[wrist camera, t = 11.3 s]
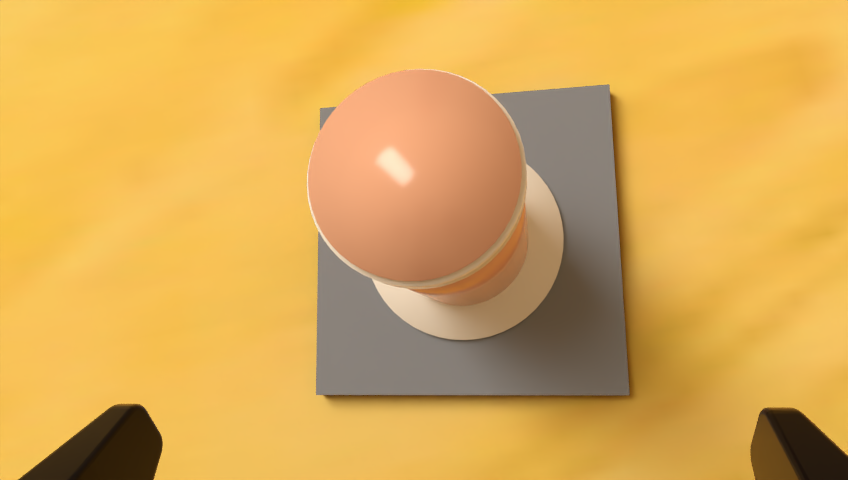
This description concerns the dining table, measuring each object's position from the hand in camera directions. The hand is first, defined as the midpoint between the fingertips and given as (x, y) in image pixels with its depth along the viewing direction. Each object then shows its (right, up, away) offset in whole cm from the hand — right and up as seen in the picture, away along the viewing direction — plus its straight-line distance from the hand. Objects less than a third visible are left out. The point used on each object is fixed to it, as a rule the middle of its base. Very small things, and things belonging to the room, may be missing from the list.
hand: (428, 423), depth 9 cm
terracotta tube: (+1, +3, +13) cm, 14 cm away
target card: (+1, +3, +14) cm, 14 cm away
